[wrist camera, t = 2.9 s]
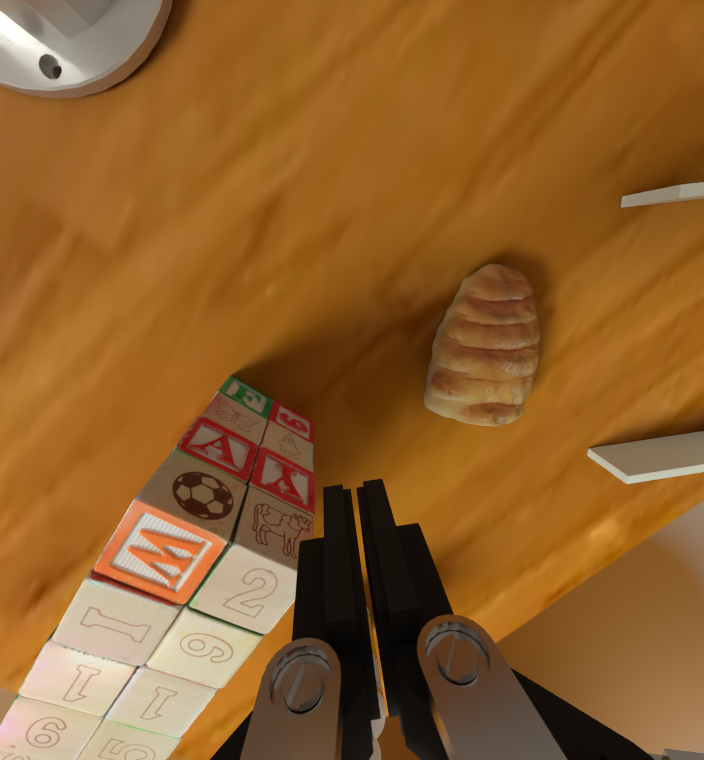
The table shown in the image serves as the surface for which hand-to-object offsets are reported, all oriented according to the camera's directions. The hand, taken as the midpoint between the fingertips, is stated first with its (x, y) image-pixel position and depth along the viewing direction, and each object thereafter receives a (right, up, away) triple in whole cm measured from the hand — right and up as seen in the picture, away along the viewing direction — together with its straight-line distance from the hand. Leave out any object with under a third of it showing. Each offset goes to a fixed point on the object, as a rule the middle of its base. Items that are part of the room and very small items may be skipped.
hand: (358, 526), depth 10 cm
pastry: (+8, +6, +13) cm, 16 cm away
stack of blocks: (-11, -5, +15) cm, 19 cm away
